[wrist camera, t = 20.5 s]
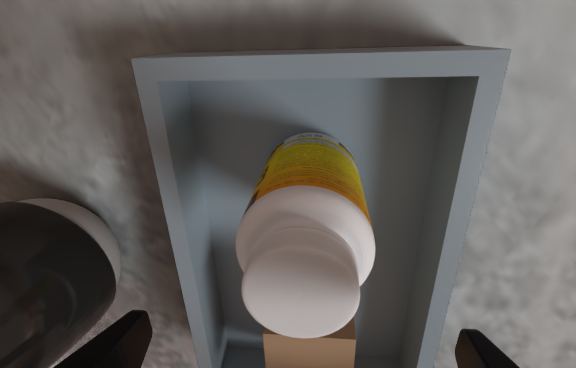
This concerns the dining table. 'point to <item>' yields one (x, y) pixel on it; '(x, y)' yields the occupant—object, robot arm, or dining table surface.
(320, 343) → the walnut box
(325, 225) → the supplement bottle
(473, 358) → the robot arm
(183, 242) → the tray
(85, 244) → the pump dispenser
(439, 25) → the dining table surface
